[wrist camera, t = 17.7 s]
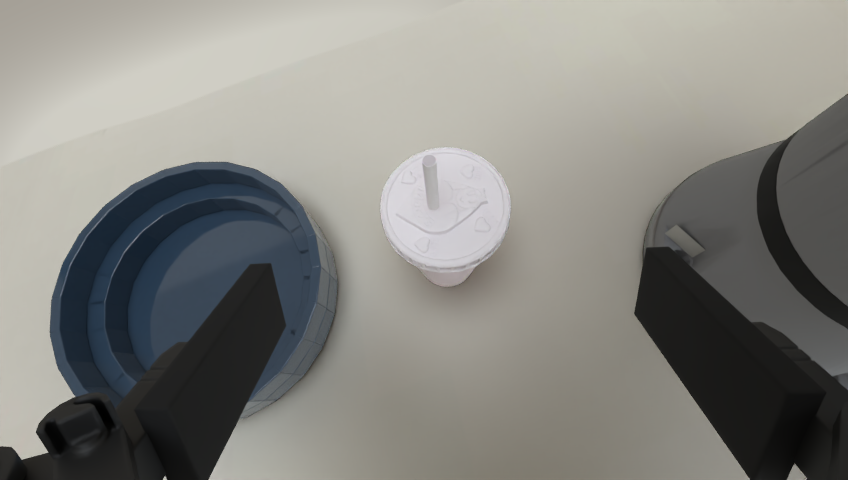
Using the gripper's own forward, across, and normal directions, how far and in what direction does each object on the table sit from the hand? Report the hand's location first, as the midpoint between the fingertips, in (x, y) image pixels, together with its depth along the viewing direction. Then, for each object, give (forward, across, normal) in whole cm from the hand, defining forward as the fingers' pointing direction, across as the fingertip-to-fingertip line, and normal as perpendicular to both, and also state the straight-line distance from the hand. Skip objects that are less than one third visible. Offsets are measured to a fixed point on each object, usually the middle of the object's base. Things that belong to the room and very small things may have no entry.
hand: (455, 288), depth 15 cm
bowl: (+12, -16, -7) cm, 21 cm away
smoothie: (+13, 0, -6) cm, 15 cm away
